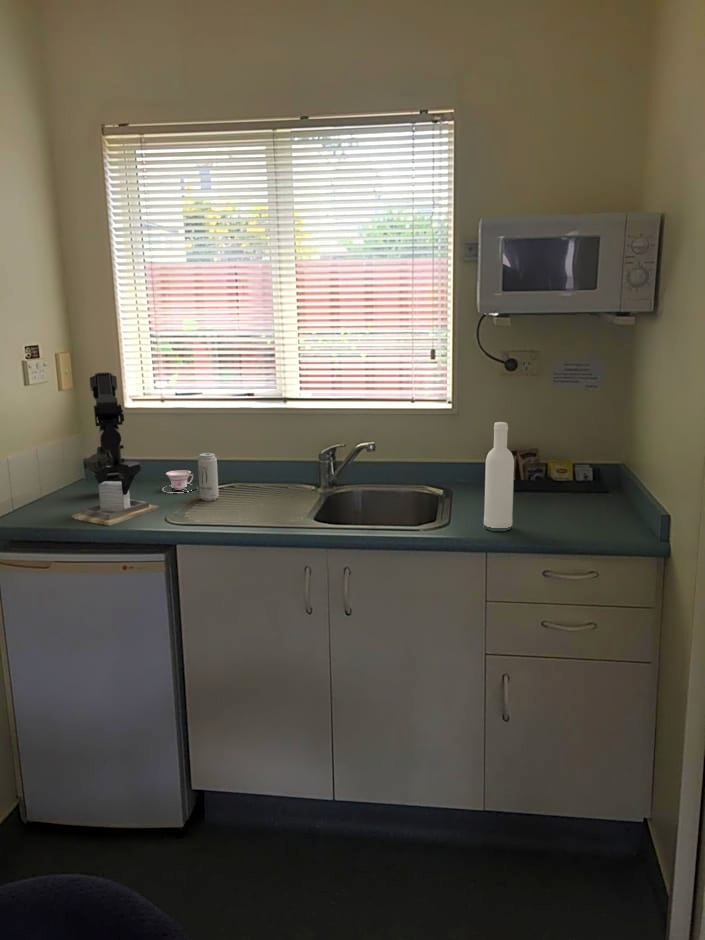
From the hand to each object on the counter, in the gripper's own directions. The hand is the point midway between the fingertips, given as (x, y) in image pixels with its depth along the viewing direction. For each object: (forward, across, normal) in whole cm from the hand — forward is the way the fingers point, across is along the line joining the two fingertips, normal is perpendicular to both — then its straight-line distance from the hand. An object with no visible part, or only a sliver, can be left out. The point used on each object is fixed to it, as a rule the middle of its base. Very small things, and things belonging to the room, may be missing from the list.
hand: (114, 492), depth 234 cm
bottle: (+7, +108, +40) cm, 115 cm away
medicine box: (+6, 0, 0) cm, 6 cm away
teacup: (+7, -4, +33) cm, 34 cm away
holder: (+7, 0, 0) cm, 7 cm away
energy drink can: (+7, +14, +27) cm, 31 cm away
